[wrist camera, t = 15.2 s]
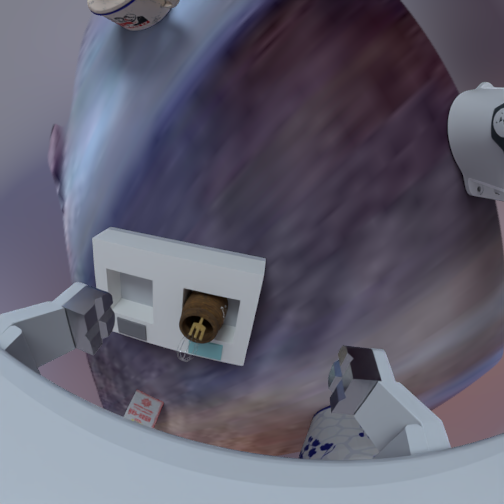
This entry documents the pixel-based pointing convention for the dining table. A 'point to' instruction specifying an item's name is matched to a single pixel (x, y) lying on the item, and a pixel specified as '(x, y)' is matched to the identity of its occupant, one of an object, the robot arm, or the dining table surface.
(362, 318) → the dining table surface
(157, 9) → the teacup with lid
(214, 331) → the utensil holder
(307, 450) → the vase
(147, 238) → the socket box
